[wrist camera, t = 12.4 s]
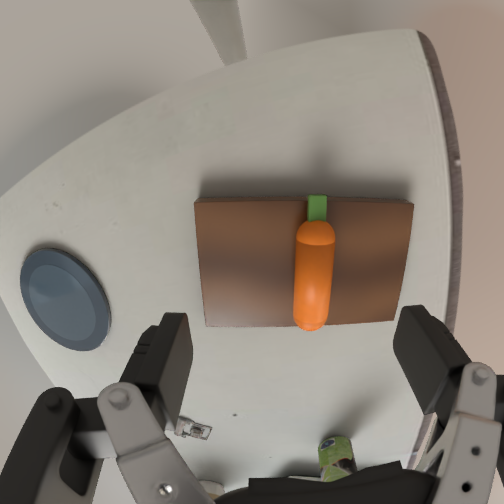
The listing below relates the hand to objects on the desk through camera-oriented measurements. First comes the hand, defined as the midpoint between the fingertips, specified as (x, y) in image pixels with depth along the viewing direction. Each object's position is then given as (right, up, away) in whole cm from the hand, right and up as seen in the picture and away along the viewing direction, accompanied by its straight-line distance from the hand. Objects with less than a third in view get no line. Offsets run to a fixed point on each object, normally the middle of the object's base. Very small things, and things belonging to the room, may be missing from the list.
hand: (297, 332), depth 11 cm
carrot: (+4, +2, +19) cm, 20 cm away
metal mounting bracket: (-15, -28, +34) cm, 47 cm away
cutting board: (+4, +2, +21) cm, 22 cm away
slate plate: (-28, -4, +25) cm, 37 cm away
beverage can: (+13, -31, +34) cm, 48 cm away
